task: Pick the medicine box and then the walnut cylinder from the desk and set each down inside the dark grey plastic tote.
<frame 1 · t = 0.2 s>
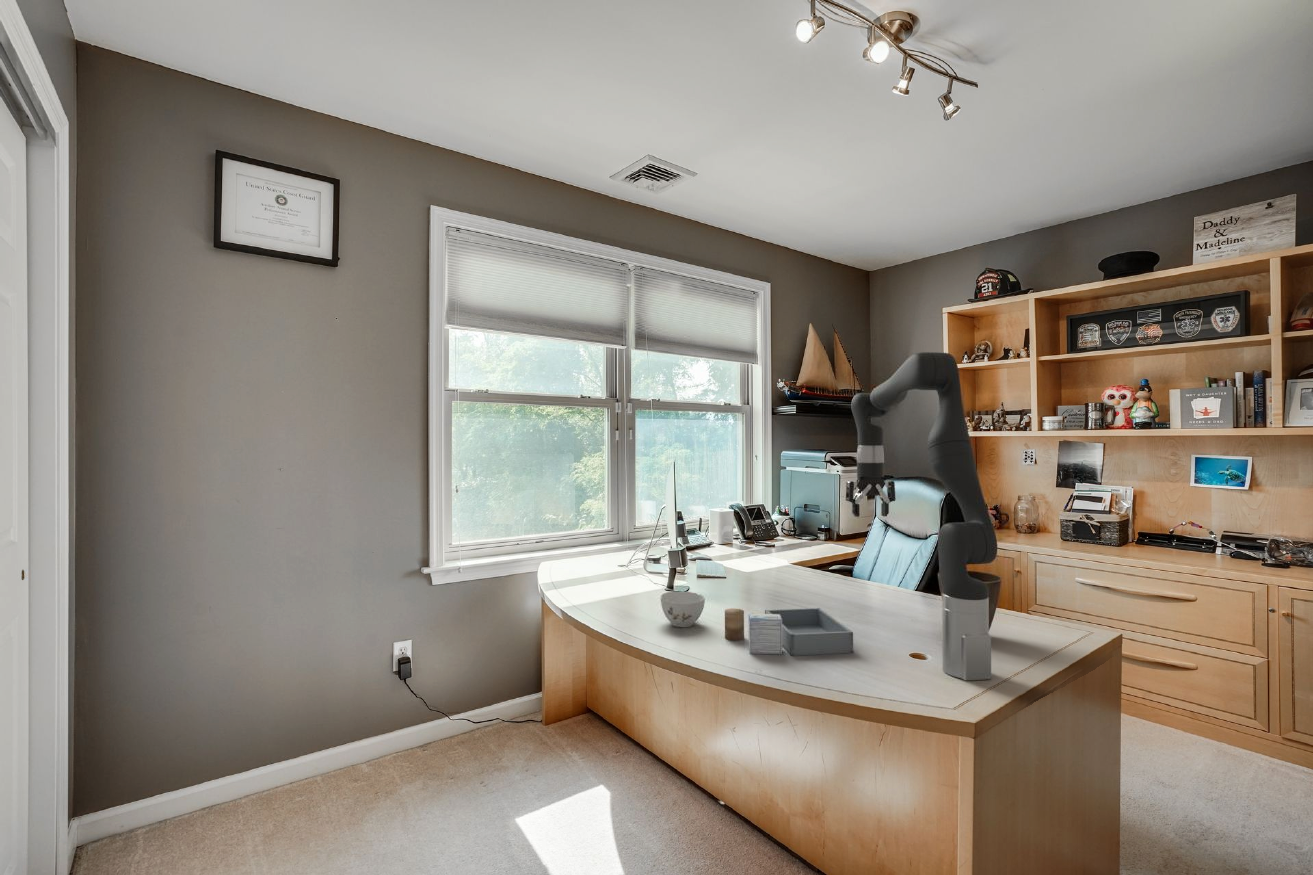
hand: (870, 516, 182), 29 cm above the table, fingers open, 8 cm apart
tote: (806, 639, 160), on the table
medicine box: (765, 652, 152), on the table
plant pot: (969, 637, 162), on the table
teacup: (684, 624, 175), on the table
walnut cylinder: (734, 637, 162), on the table
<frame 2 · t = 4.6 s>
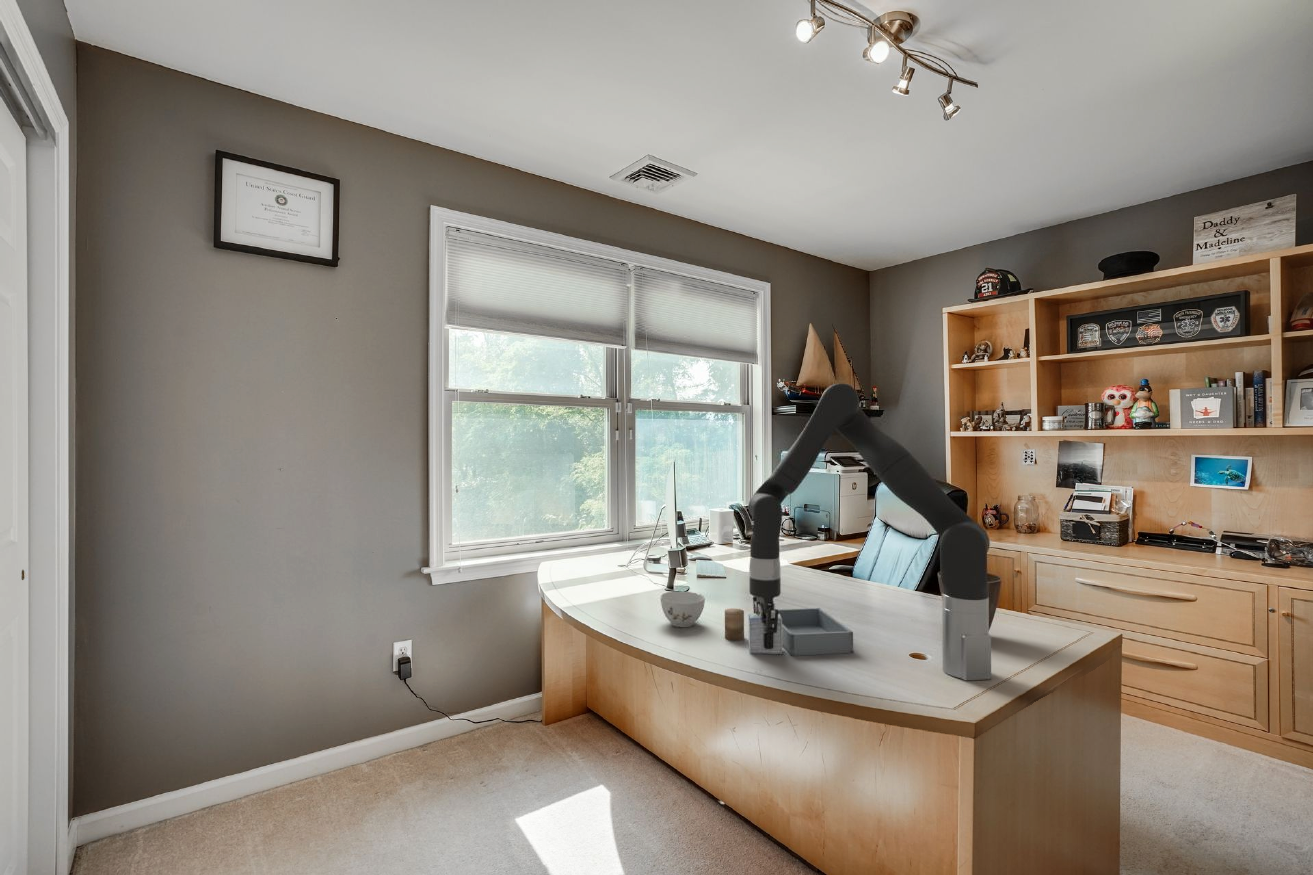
hand: (765, 644, 152), 2 cm above the table, fingers closed on medicine box, 5 cm apart
medicine box: (765, 652, 152), on the table, touching gripper
everything else where it was.
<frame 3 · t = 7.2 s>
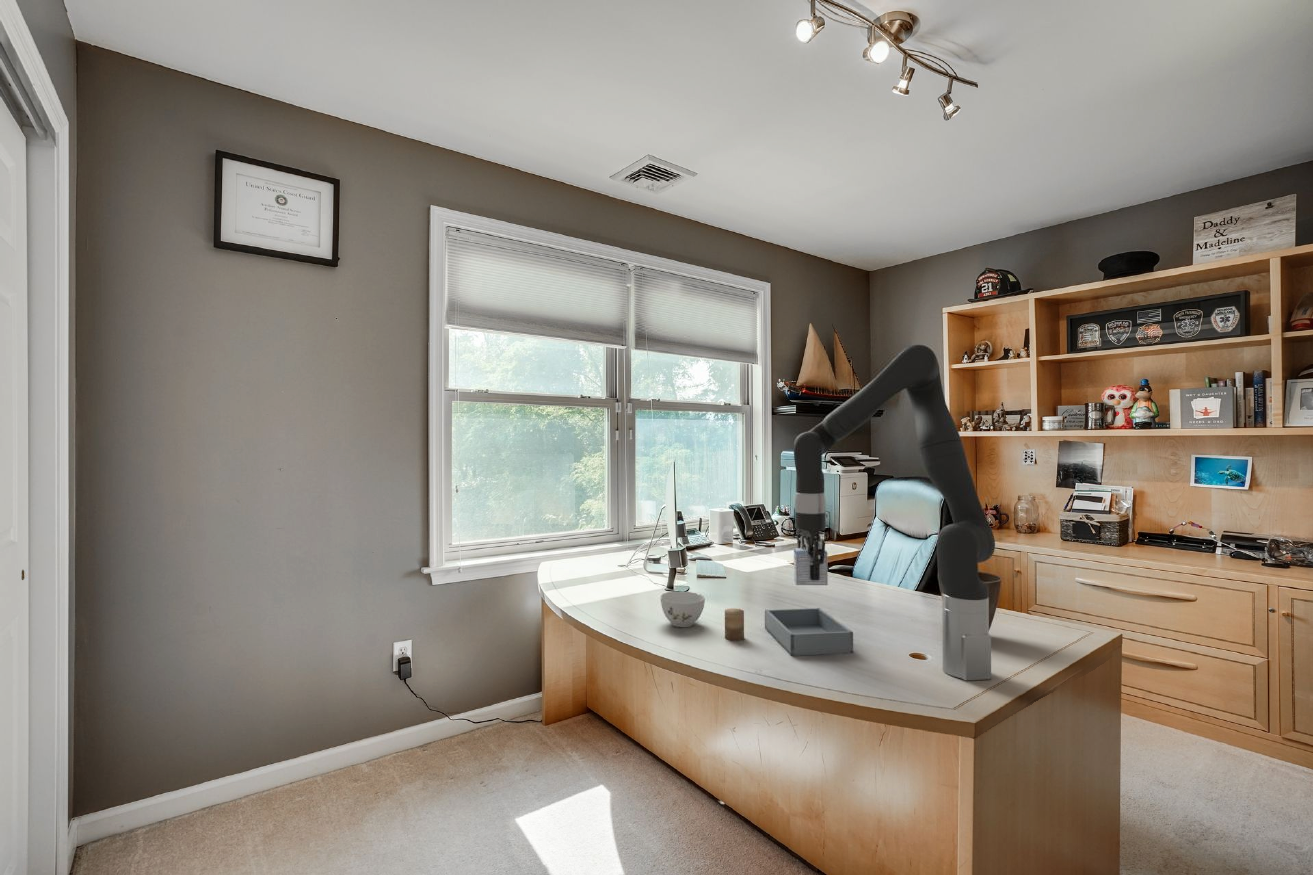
hand: (810, 577, 157), 17 cm above the table, fingers closed on medicine box, 5 cm apart
medicine box: (810, 584, 157), point 15 cm above the table, touching gripper
everything else where it was.
when the fingers open (4 cm above the table, at t = 10.0 s): medicine box drops 1 cm, resting on tote.
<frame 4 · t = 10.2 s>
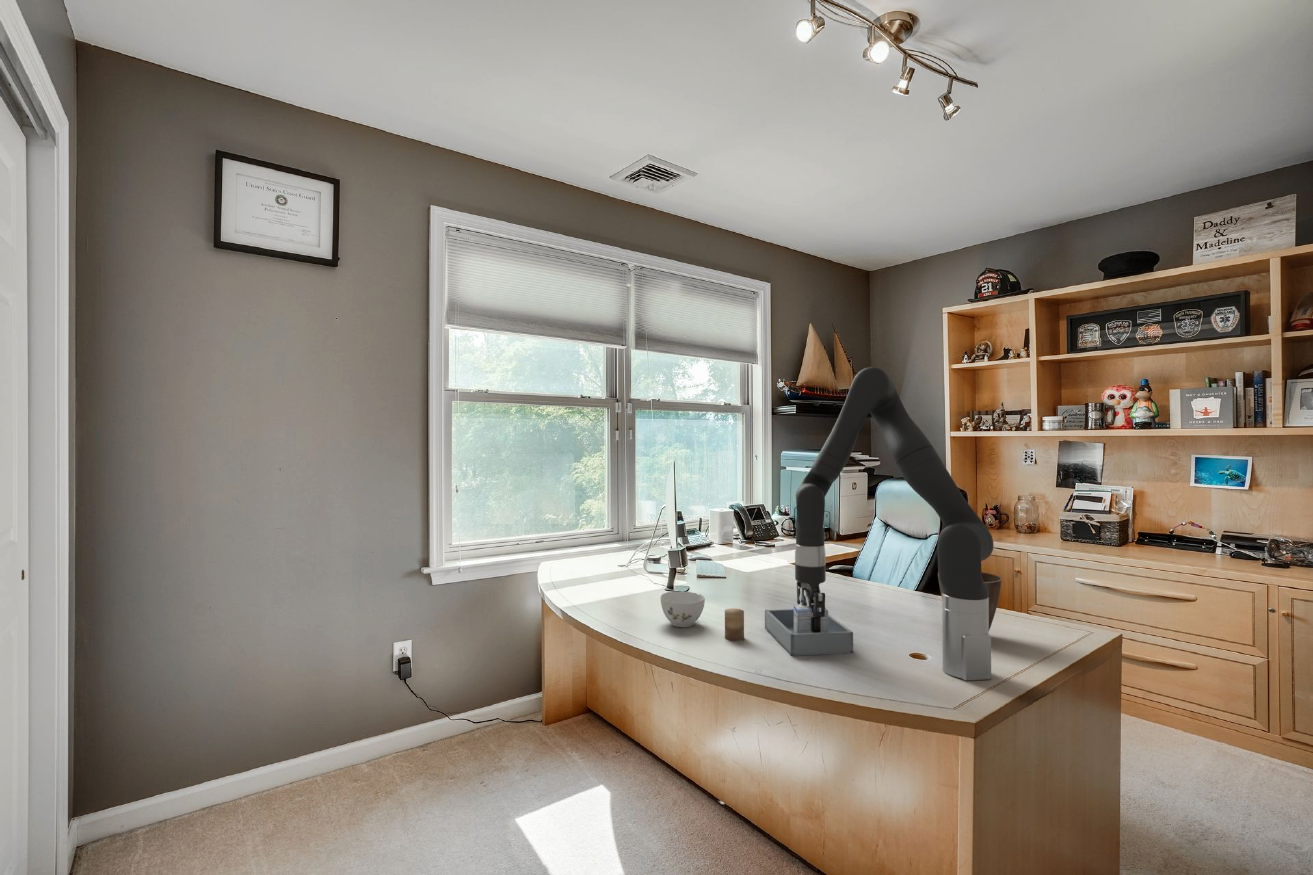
hand: (810, 627, 157), 4 cm above the table, fingers open, 6 cm apart
medicine box: (810, 642, 157), resting on tote
everything else where it was.
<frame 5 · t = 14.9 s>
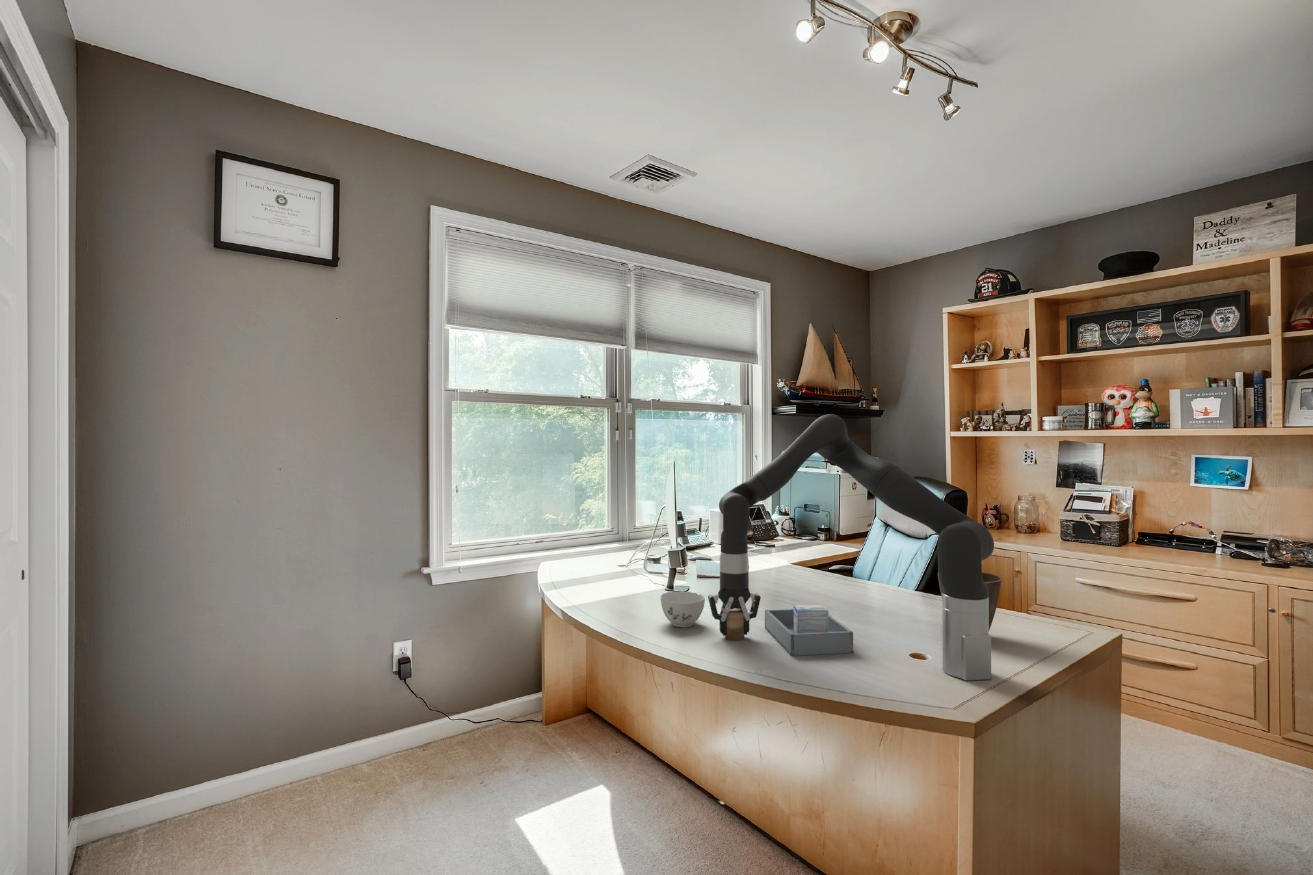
hand: (734, 634, 162), 1 cm above the table, fingers closed on walnut cylinder, 5 cm apart
walnut cylinder: (734, 637, 162), on the table, touching gripper
everything else where it was.
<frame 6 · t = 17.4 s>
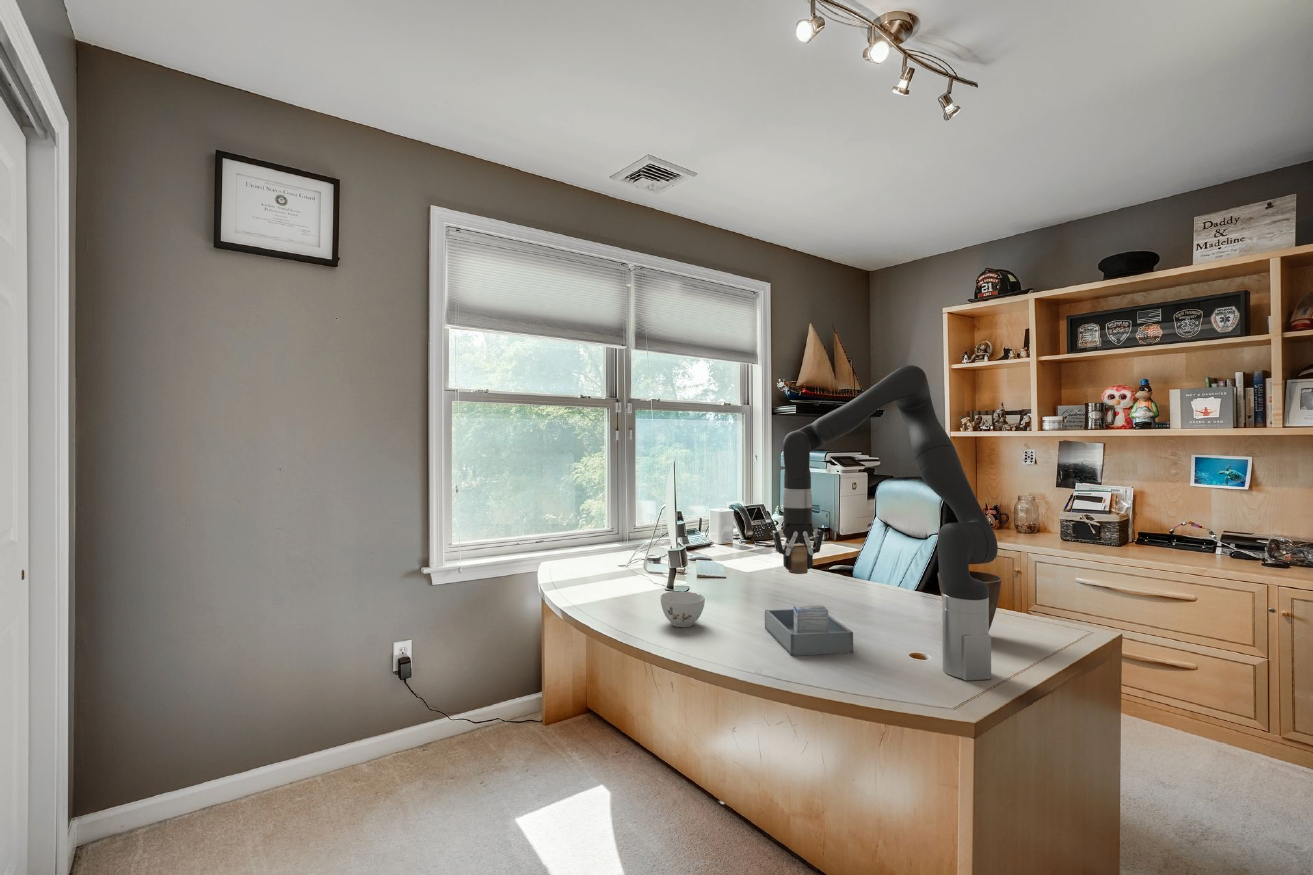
hand: (798, 568, 166), 17 cm above the table, fingers closed on walnut cylinder, 5 cm apart
walnut cylinder: (798, 572, 166), point 16 cm above the table, touching gripper
everything else where it was.
when the fingers open (3 cm above the table, at t = 20.4 s): walnut cylinder drops 2 cm, resting on tote.
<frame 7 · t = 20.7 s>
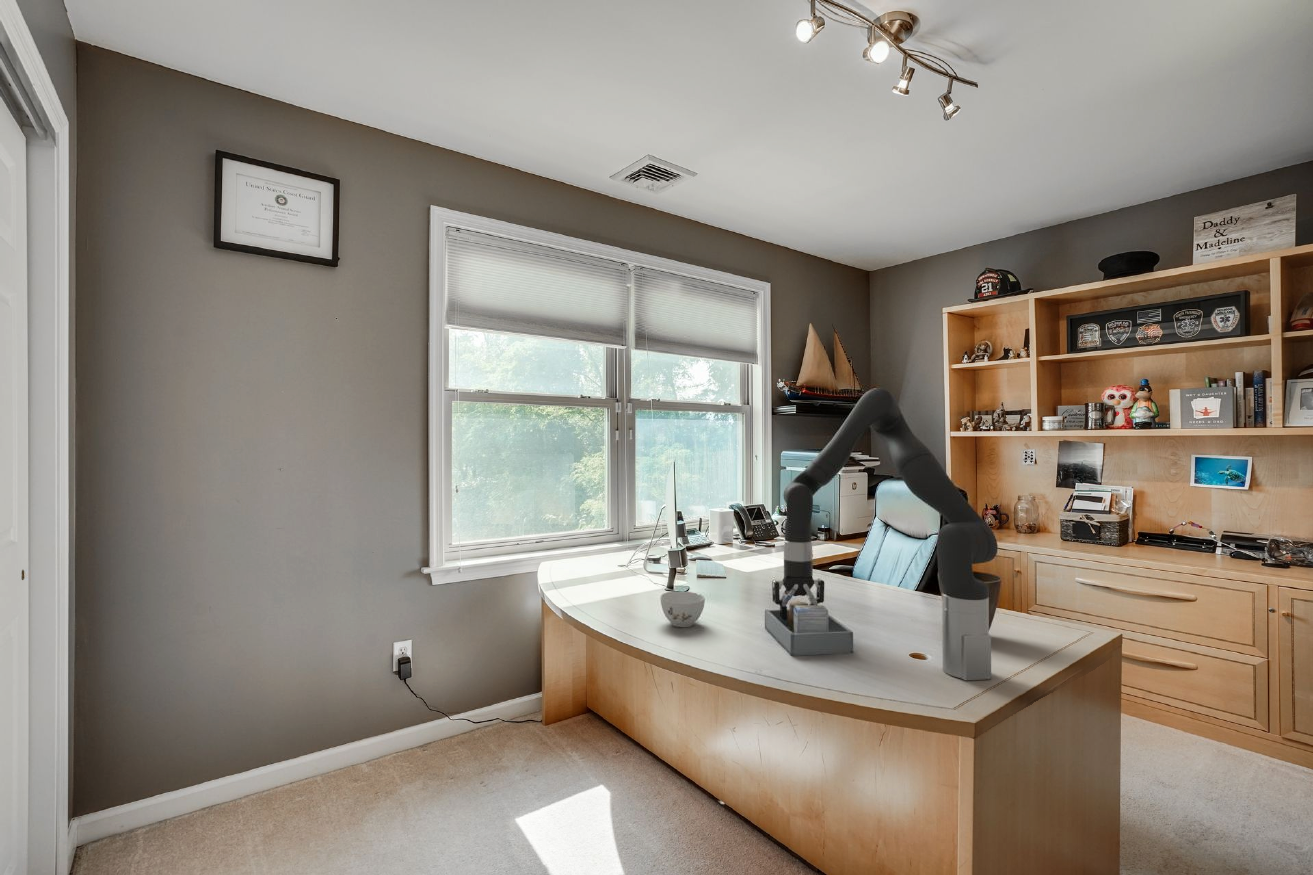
hand: (798, 618, 166), 4 cm above the table, fingers open, 7 cm apart
walnut cylinder: (798, 630, 166), point 1 cm above the table, touching tote
everything else where it was.
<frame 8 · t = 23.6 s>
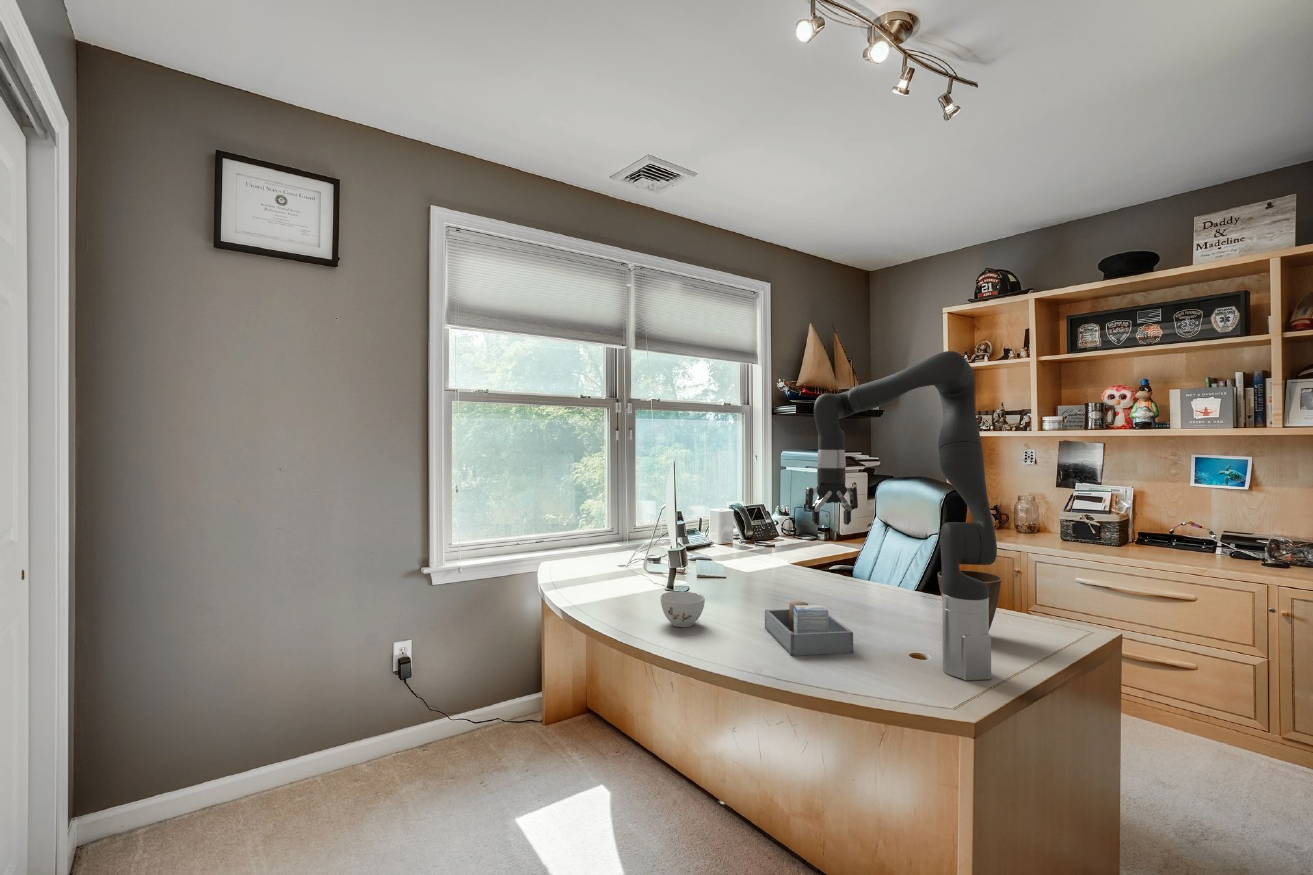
hand: (831, 524, 172), 28 cm above the table, fingers open, 8 cm apart
nothing on the table moved.
at the end: medicine box inside the target area on the tote (3.3 cm from its centre), point 0.4 cm above the tote's base; walnut cylinder inside the target area on the tote (6.0 cm from its centre), point 0.6 cm above the tote's base; the gripper is holding nothing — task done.
